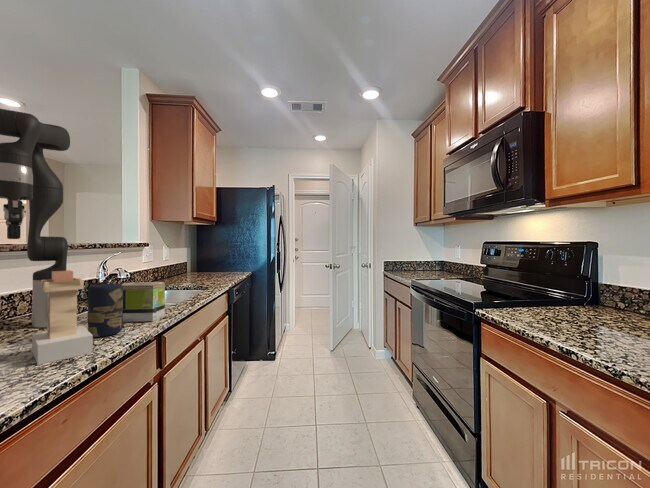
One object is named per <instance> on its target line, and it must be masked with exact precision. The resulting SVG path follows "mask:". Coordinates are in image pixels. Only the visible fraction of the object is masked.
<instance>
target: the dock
mask: <svg viewBox="0 0 650 488" xmlns="http://www.w3.org/2000/svg"><path fill="white" fill-rule="evenodd" d="M31 339H32V340H31V342H32V344H31V347H32V349H31V352H32V354H33V357H34V359H35V362H36V364H37V366H39V365H45V364H49V363H52V362H58V361H62V360H67V359H71V358H75V357H79V356H83V355H89V354H93V350H94V349H93V348H94V346H93V341H94V338H93V335H92V334H91V333H90V332H89V331H88V329H87V328H85V327H84V326H83V325H79V326H77V334H76V335H70V336H64V337H59V338H53V339H50V338H49V337H48V335H47V330H46V331H42V332H35V333H32V334H31Z"/></svg>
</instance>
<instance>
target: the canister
mask: <svg viewBox="0 0 650 488" xmlns="http://www.w3.org/2000/svg"><path fill="white" fill-rule="evenodd" d="M122 284H123V283H115V282H114V283H113V281H112V282H111V281H102V282H98V283H97V284H93V285H89V286H88V289H87V330H88V331H89V332H90V333H91V334H92V335H93V337H94V338H95V337H97V338H99V337H107V336H108V337H109V336H111V335H112V336H113V335H116V334H118V333H120V332H121V331H122V330H123V323H124V322H123V286H122Z"/></svg>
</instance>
